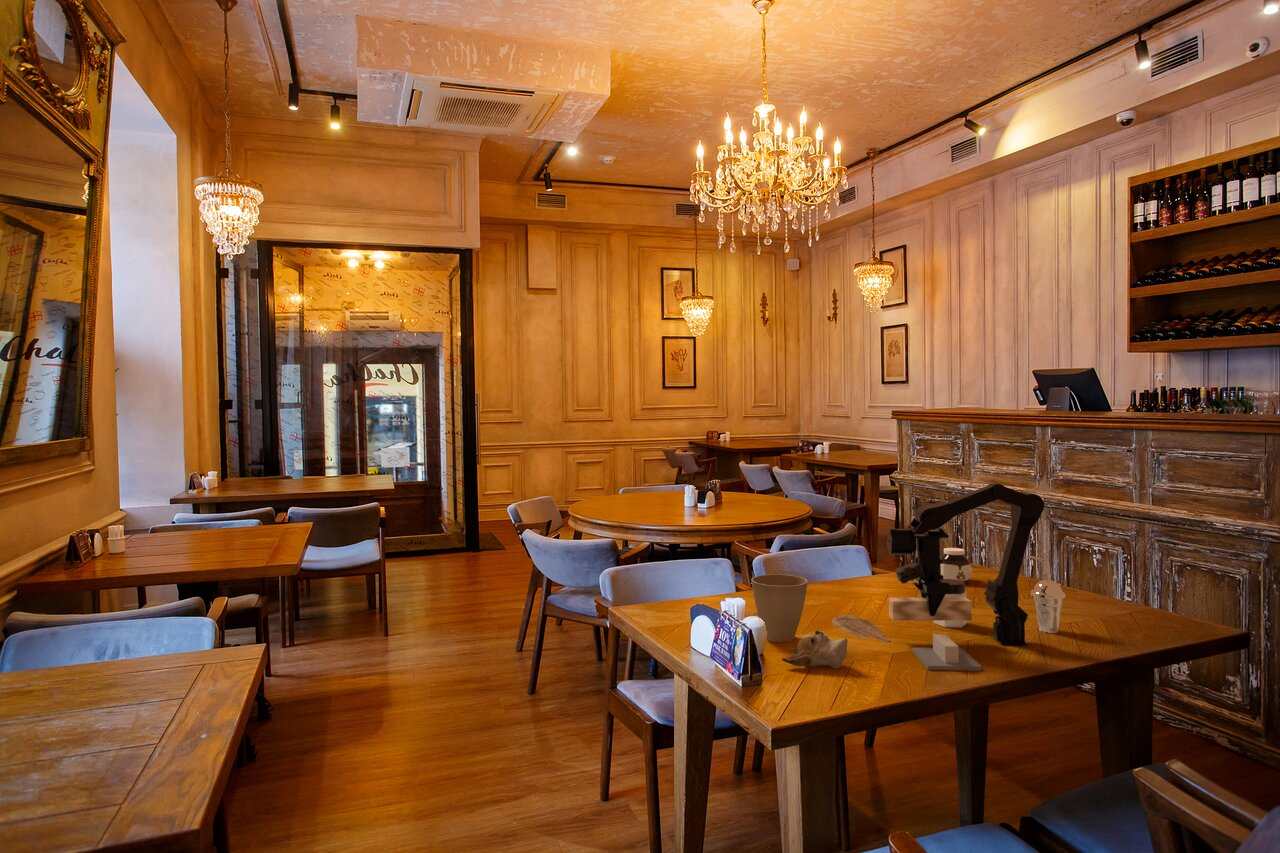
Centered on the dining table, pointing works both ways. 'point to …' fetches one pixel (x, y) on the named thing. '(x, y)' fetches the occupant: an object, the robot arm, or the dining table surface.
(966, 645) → the dining table surface
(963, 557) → the spread jar
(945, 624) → the jar
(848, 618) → the fish fossil
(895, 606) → the beech bar
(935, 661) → the fulcrum
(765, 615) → the plant pot
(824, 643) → the ceramic sculpture
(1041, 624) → the cup with straw
